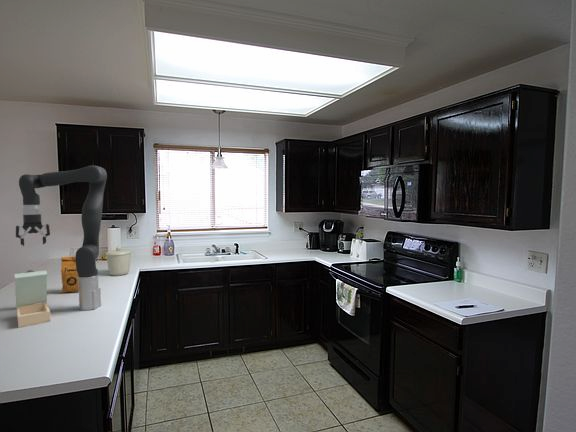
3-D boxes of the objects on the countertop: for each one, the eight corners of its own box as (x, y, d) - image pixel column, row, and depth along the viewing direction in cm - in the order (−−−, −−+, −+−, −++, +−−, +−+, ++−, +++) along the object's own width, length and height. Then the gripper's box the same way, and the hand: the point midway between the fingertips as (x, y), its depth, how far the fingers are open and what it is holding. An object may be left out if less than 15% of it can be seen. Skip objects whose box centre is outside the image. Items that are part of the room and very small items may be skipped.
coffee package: (83, 292, 213) (81, 257, 211) (59, 294, 209) (58, 258, 207) (87, 288, 222) (85, 254, 221) (64, 290, 218) (63, 255, 217)
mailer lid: (16, 309, 168) (15, 298, 175) (47, 304, 176) (45, 293, 182) (14, 278, 161) (14, 267, 167) (47, 274, 169) (45, 263, 175)
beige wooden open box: (17, 317, 170) (16, 307, 170) (46, 311, 178) (46, 302, 178) (18, 327, 156) (17, 316, 156) (50, 321, 164) (49, 311, 164)
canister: (134, 275, 259) (133, 247, 258) (107, 278, 249) (106, 249, 247) (130, 270, 274) (129, 244, 272) (104, 273, 264) (103, 246, 262)
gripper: (48, 212, 186) (49, 242, 187) (14, 213, 177) (16, 245, 178) (49, 213, 180) (51, 244, 181) (14, 214, 171) (16, 247, 172)
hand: (33, 244), depth 179 cm, fingers open, 8 cm apart
